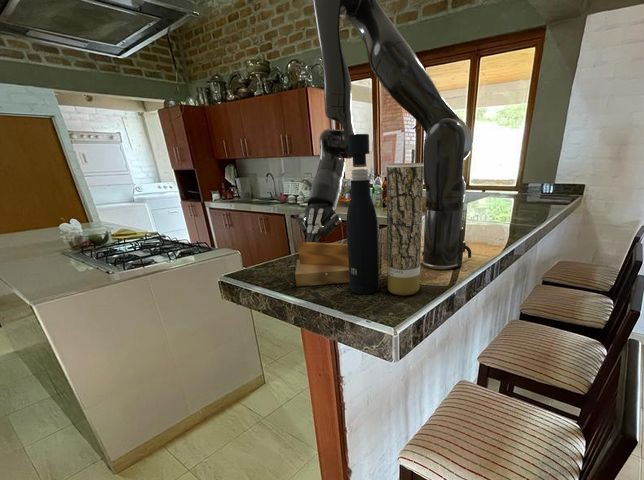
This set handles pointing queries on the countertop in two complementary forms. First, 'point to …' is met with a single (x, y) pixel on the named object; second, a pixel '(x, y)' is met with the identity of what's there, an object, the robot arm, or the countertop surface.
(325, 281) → the wooden box
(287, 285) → the countertop surface
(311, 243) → the tan wooden flat block
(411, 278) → the paper tube
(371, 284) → the black water bottle
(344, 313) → the countertop surface
